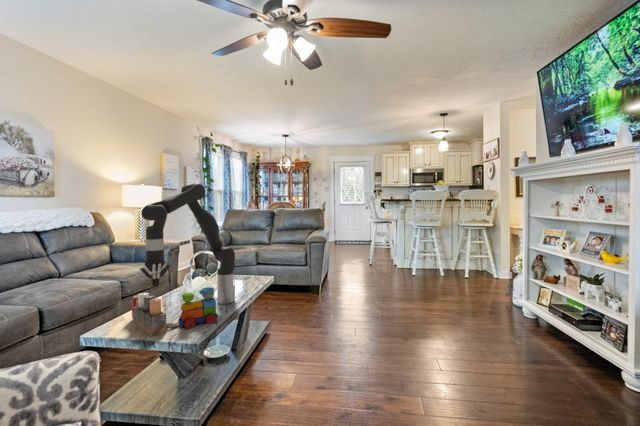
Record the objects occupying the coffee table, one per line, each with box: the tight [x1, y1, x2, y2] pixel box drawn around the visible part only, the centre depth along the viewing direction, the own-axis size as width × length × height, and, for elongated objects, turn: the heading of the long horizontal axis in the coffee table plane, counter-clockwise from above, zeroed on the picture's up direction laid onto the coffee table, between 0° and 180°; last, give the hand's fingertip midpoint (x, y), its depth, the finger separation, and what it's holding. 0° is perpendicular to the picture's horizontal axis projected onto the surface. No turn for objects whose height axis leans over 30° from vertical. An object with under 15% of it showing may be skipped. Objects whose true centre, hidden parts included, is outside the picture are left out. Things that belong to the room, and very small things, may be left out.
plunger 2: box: [150, 298, 162, 316], centre depth 145 cm, size 5×5×7 cm
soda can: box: [131, 294, 138, 321], centre depth 162 cm, size 7×7×12 cm
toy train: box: [166, 286, 219, 330], centre depth 154 cm, size 12×29×17 cm, turn 126°
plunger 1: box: [137, 292, 150, 309], centre depth 155 cm, size 5×5×7 cm
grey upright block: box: [144, 295, 156, 313], centre depth 150 cm, size 5×5×7 cm
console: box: [133, 306, 168, 337], centre depth 150 cm, size 7×22×8 cm, turn 48°
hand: (155, 286), depth 145 cm, fingers closed
